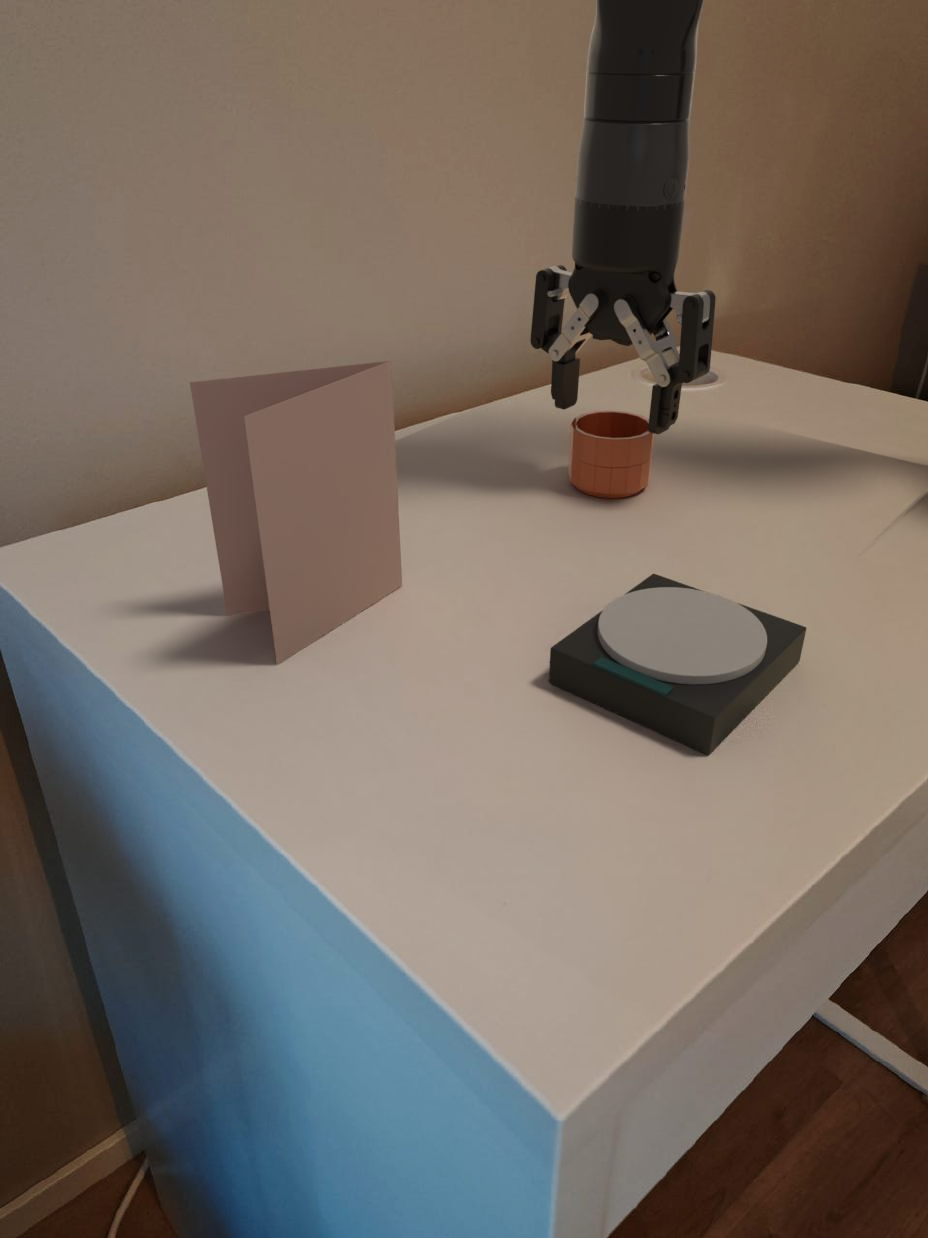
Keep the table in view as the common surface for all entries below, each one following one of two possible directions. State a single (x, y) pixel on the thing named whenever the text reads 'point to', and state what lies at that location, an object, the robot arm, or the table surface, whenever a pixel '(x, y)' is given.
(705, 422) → the table surface
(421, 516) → the table surface
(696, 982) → the table surface
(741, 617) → the scale
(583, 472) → the orange cup
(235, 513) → the greeting card
